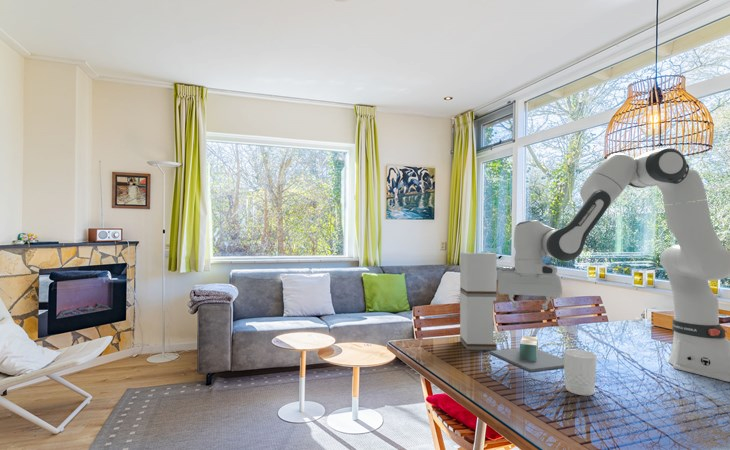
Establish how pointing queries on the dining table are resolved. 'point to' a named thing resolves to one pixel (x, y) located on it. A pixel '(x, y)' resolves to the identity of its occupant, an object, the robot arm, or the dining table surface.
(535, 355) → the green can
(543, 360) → the rubber mat
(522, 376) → the dining table surface
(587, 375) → the white cup
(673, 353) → the robot arm
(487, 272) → the grey square tower
